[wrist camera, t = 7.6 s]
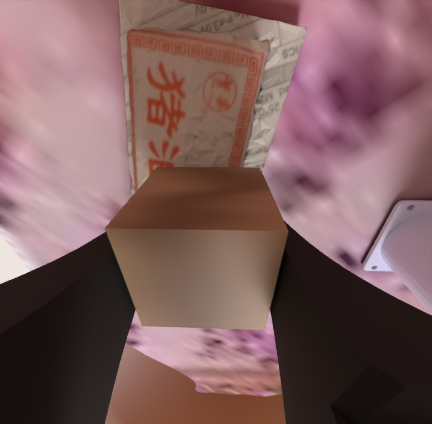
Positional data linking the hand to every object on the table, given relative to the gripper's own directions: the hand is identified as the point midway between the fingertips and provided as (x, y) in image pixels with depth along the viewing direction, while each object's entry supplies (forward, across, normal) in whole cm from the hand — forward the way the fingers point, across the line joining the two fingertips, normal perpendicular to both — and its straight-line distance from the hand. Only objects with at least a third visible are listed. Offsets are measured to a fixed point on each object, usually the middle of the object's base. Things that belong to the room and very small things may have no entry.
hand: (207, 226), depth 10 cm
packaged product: (+8, +1, 0) cm, 8 cm away
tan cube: (+1, 0, 0) cm, 1 cm away
